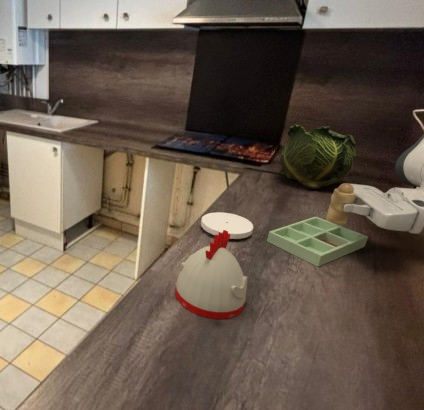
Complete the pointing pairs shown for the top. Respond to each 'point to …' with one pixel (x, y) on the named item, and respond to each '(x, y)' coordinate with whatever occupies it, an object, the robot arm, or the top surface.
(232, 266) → the kitchen timer
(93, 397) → the top surface
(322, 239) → the grid
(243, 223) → the plastic lid
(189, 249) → the top surface
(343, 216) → the beige toy figure
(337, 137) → the cabbage
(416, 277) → the top surface
